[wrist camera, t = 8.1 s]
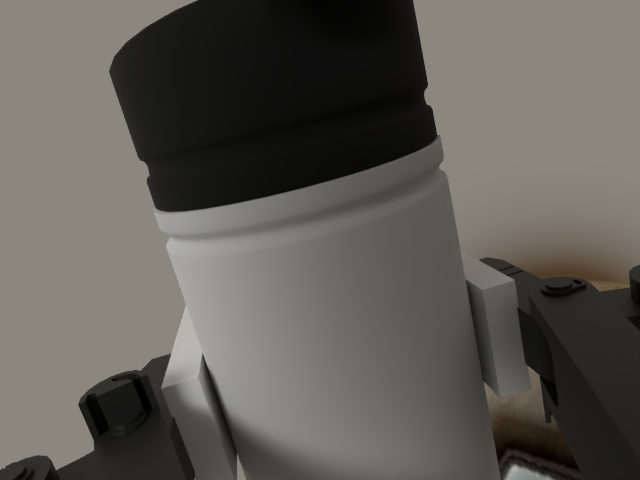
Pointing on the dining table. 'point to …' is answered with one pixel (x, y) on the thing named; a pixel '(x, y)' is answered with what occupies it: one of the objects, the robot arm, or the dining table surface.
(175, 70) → the travel mug
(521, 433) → the dining table surface
